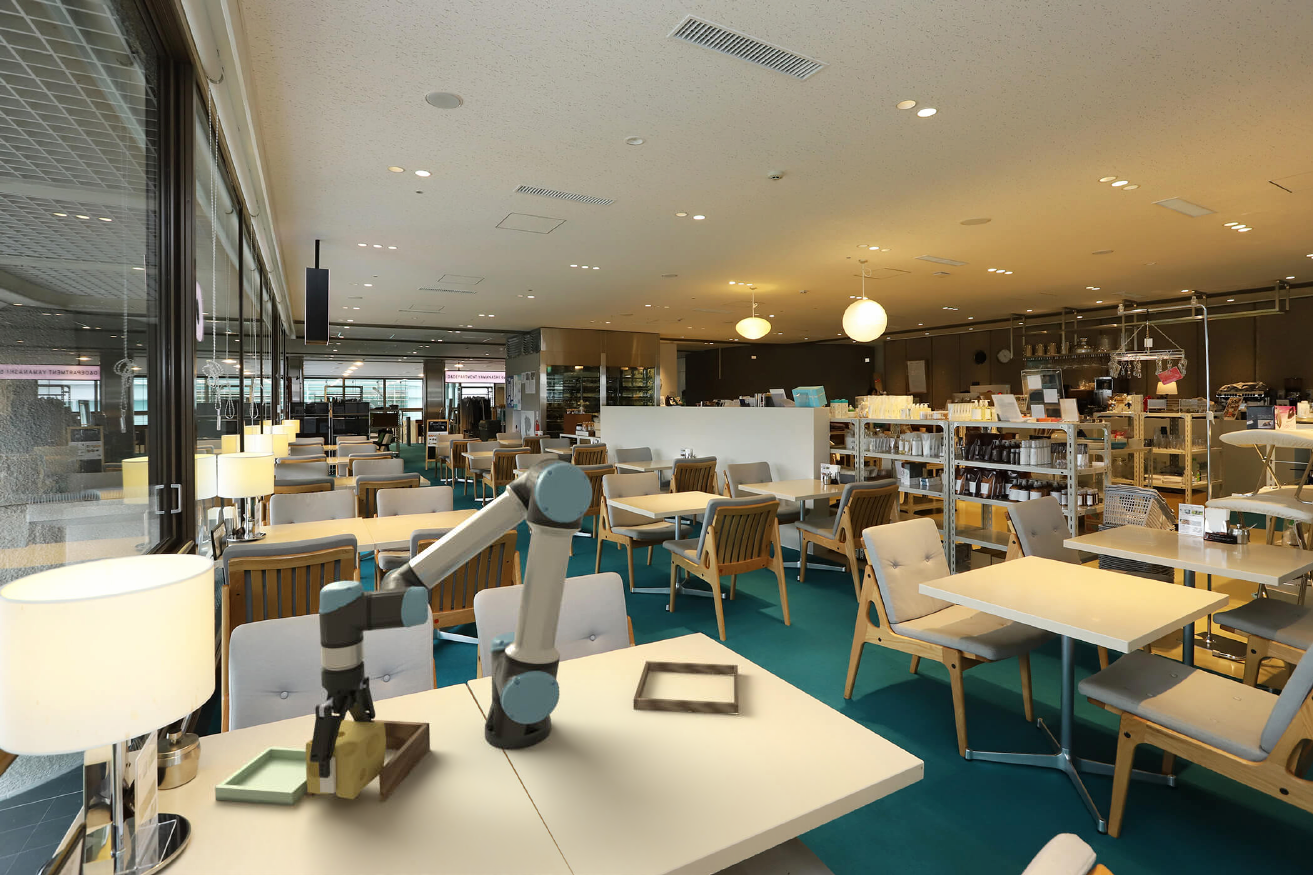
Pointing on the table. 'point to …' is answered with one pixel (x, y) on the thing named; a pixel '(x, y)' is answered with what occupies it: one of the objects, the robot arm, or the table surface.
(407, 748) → the cubby
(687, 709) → the frame
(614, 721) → the table surface
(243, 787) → the tray
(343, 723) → the cheese
